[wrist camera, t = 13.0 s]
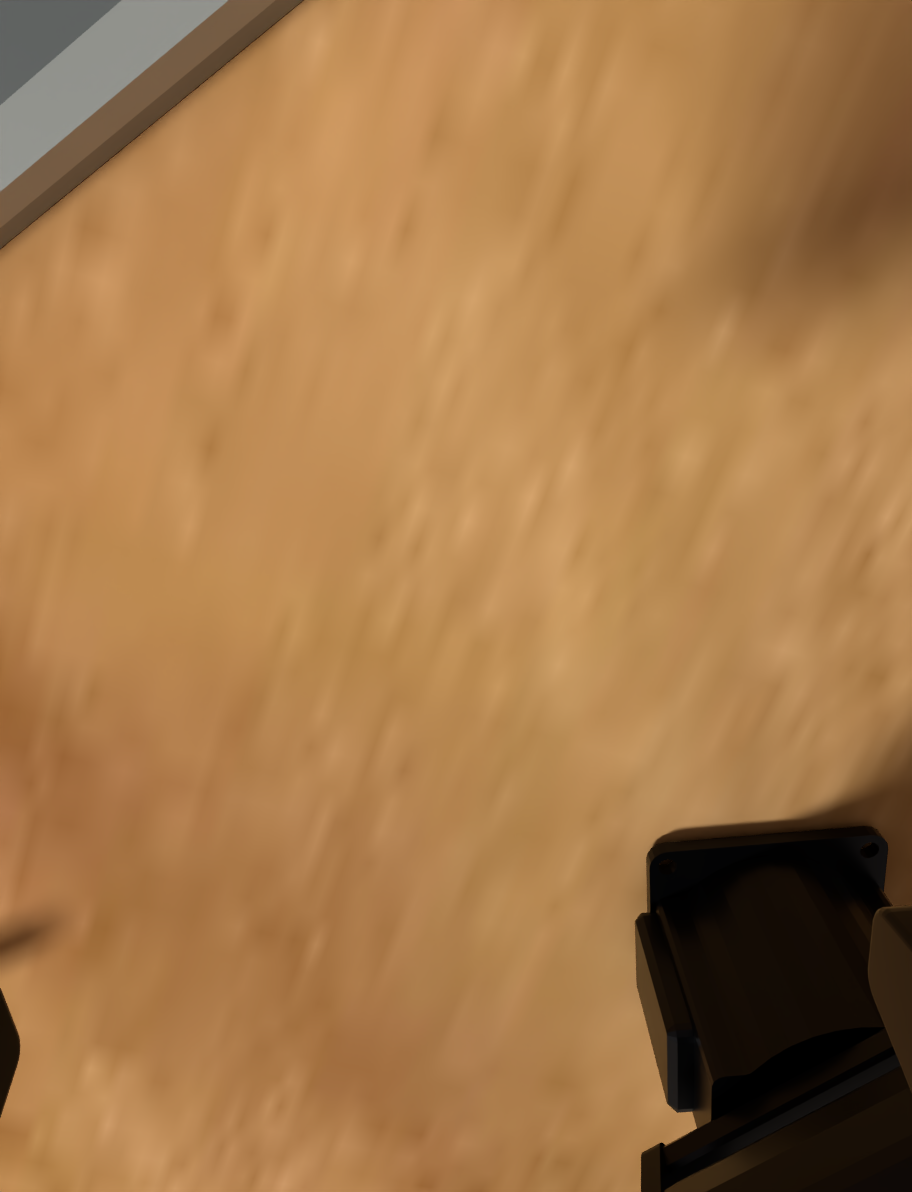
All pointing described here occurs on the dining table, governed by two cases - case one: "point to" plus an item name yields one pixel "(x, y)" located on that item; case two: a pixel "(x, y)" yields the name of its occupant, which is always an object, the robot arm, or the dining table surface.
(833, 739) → the dining table surface
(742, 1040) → the robot arm
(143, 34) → the dock
